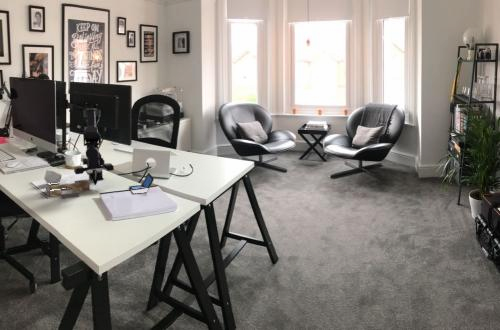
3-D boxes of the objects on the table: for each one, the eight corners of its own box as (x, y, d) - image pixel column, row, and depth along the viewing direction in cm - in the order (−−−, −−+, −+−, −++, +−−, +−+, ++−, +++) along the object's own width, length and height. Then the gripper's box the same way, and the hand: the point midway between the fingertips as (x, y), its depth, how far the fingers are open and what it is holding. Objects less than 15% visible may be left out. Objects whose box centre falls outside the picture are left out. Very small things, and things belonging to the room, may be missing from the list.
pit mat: (77, 193, 215) (77, 192, 215) (79, 196, 210) (79, 195, 210) (60, 195, 211) (60, 194, 211) (61, 198, 206) (61, 198, 206)
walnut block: (87, 187, 225) (86, 179, 224) (90, 190, 220) (89, 182, 219) (75, 189, 222) (74, 180, 221) (77, 192, 217) (76, 183, 216)
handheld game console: (128, 188, 225) (127, 174, 223) (149, 186, 229) (148, 172, 228) (133, 195, 214) (132, 180, 212) (154, 192, 218) (154, 178, 217)
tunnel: (78, 187, 225) (78, 181, 224) (82, 192, 216) (81, 186, 215) (46, 191, 218) (45, 185, 217) (47, 196, 208) (47, 190, 208)
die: (61, 182, 236) (49, 168, 234) (68, 177, 231) (55, 163, 229) (50, 190, 230) (37, 177, 228) (56, 185, 225) (43, 171, 223)
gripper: (108, 150, 231) (110, 178, 235) (71, 153, 222) (73, 183, 226) (113, 154, 222) (115, 183, 225) (74, 158, 213) (77, 188, 216)
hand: (95, 184), depth 223 cm, fingers closed
